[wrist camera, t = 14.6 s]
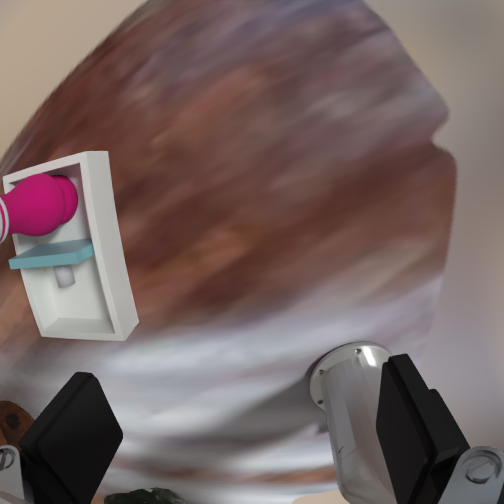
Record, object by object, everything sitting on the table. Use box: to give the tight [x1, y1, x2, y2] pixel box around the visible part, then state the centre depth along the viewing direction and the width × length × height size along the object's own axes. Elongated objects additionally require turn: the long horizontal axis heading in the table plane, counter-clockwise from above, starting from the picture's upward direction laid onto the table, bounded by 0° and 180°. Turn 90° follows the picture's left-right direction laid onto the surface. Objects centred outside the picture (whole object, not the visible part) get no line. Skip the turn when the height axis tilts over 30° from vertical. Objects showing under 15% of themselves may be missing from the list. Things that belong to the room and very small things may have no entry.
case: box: [0, 401, 34, 452], centre depth 43 cm, size 18×20×18 cm
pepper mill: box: [0, 173, 78, 243], centre depth 26 cm, size 7×7×20 cm
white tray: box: [3, 151, 139, 341], centre depth 36 cm, size 22×14×5 cm, turn 6°
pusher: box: [9, 238, 95, 288], centre depth 34 cm, size 5×11×7 cm, turn 96°
